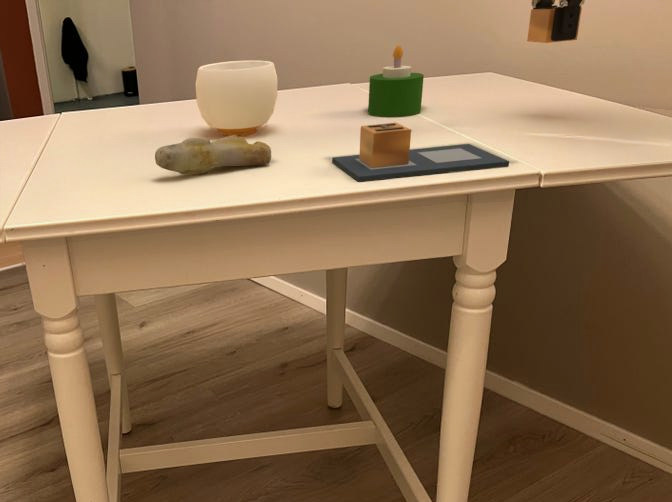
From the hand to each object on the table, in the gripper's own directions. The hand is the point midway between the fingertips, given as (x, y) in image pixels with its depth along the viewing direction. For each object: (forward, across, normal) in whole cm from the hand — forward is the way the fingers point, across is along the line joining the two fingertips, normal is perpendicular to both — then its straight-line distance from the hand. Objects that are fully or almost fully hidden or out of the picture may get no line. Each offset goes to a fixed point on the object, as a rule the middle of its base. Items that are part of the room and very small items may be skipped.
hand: (551, 37), depth 96 cm
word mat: (+11, -16, +25) cm, 32 cm away
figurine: (+11, -9, +49) cm, 51 cm away
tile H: (+11, -16, +29) cm, 35 cm away
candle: (+11, +17, +15) cm, 25 cm away
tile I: (0, 0, 0) cm, 0 cm away
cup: (+11, +13, +42) cm, 45 cm away
